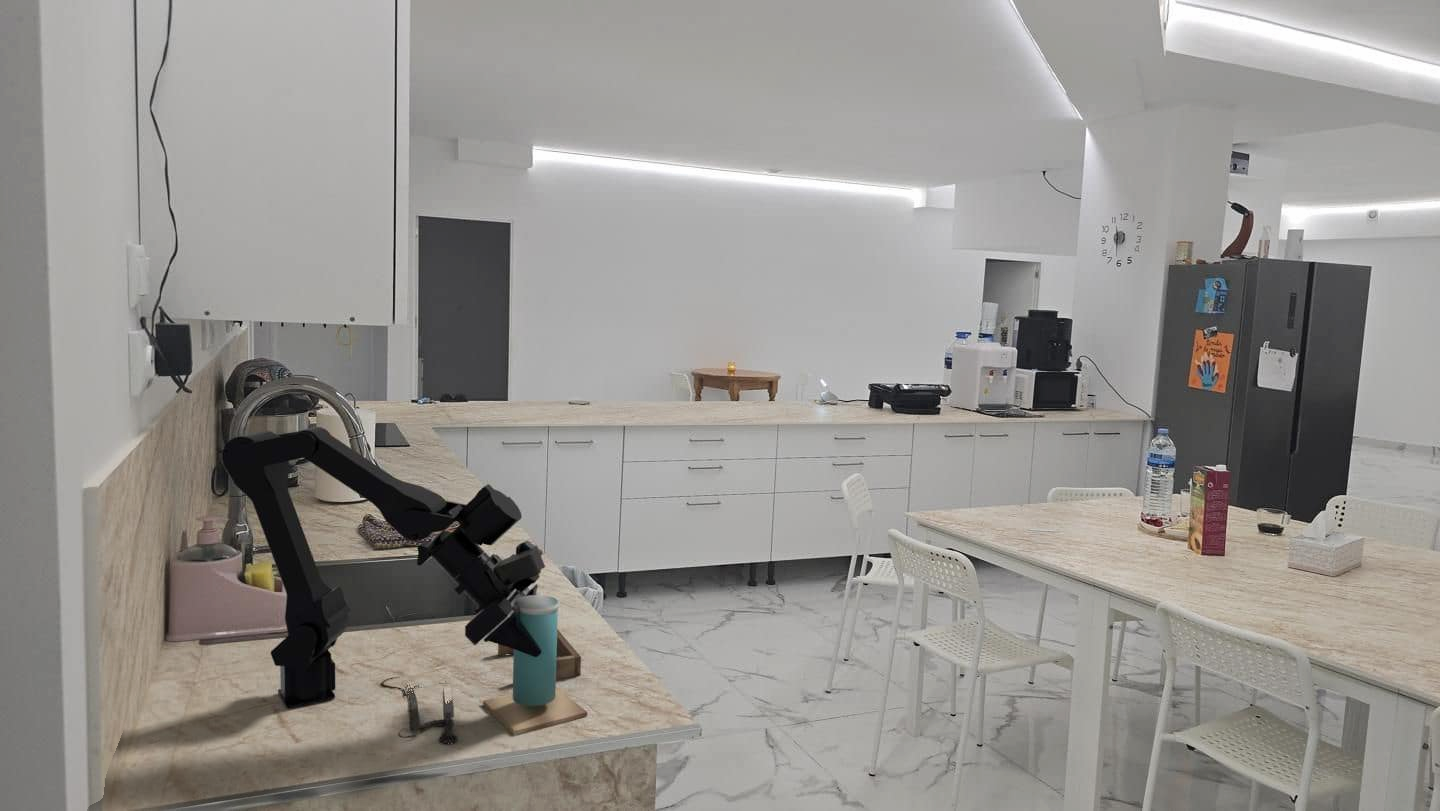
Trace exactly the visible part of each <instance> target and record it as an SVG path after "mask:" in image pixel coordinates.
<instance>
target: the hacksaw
mask: <svg viewBox="0 0 1440 811" xmlns="http://www.w3.org/2000/svg"><path fill="white" fill-rule="evenodd" d="M393 678H400V677H396V676H395V677H390V678H385V679H384V680H382V681H381V683H380V685H382V686H381V687H383V688H386V687H390V688H389V689H393V688H398V689H397V690H399V689H403V690H401V691H402V692H403V691H404V694H403V695H404V696H406V695H407V696H408V695H409V699H408V701H409V700H410V701H409V702H410V703H409V702H408V704H410V706H409V707H408V708H410V709H409V710H408V711H410V712H409V730H410V731H412V732H414V734H413V733H412V734H411V735H407V736H406V735H405V736H404V735H401V734H400V733H401V732H403V731H404V730H405V728H403V729H401V730H400V731H399V732H398V733H397V734H398V737H400V738H403V739H411V738H414V737H416V736H418V734H419V733H420V731H421V732H422V731H425V730H426V729H429V728H430V727H435V726H436V727H437V726H444V730H443V733H442V734H441V735H440V736H439V737H438V741H439V743H440V744H441V745H444V744H445V745H451V743H452V744H456V743H457V742H458V735H457V734H455V729H454V725H455V723H454V722H455V721H454V719H453V718H455V713H454V701H453V700H454V699H452V700H451V701H450V700H449V701H450V702H449V703H448V701H447V704H446V703H445V704H443V706H444V717H445V719H438V720H437V719H434V720H431V721H426V722H424V723H422V724H421V723H420V722H421V721H420V715H419V706H418V705H419V704H418V701H417V700H418V699H417V696H416V693H414V692H415V690H414V689H416V688H415V687H417V686H418V687H419V684H418V685H417V684H416V685H417V686H414V688H411V687H410V688H408V691H407V690H406V689H404V688H403V687H402V688H401V687H398V686H391V685H387V684H385V682H387V681H390V680H394V679H393ZM389 679H390V680H389ZM406 685H407V684H406ZM410 685H411V684H410ZM410 685H409V686H410ZM407 687H408V685H407ZM411 689H412V691H411ZM409 690H410V691H409ZM407 692H408V693H409V694H407ZM412 692H413V693H412ZM404 696H403V697H404ZM448 743H449V744H448Z"/></svg>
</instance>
